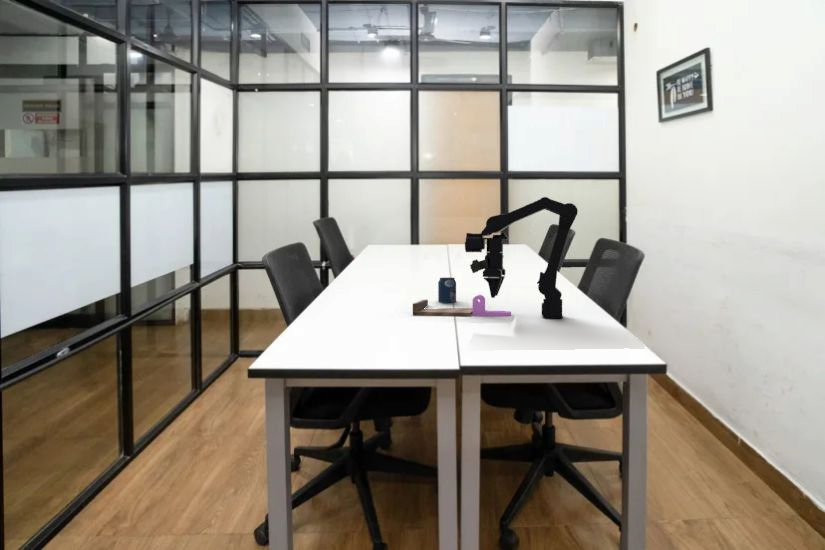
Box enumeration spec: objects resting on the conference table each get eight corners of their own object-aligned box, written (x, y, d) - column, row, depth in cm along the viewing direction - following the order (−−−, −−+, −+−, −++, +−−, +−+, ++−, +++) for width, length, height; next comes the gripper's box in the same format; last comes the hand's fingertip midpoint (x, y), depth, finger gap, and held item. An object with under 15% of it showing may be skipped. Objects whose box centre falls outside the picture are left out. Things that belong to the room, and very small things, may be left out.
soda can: (455, 309, 222) (455, 278, 221) (437, 309, 223) (437, 278, 222) (456, 307, 229) (456, 277, 228) (439, 307, 230) (439, 277, 229)
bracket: (472, 315, 201) (472, 295, 200) (474, 314, 206) (474, 294, 206) (510, 316, 198) (510, 296, 197) (511, 315, 203) (511, 295, 203)
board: (476, 311, 215) (476, 300, 215) (469, 316, 197) (469, 304, 197) (423, 310, 220) (423, 299, 220) (412, 315, 202) (412, 303, 202)
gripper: (475, 252, 215) (475, 294, 215) (468, 252, 196) (467, 298, 197) (505, 252, 212) (505, 295, 213) (501, 252, 194) (500, 299, 194)
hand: (494, 296), depth 204 cm, fingers open, 9 cm apart
